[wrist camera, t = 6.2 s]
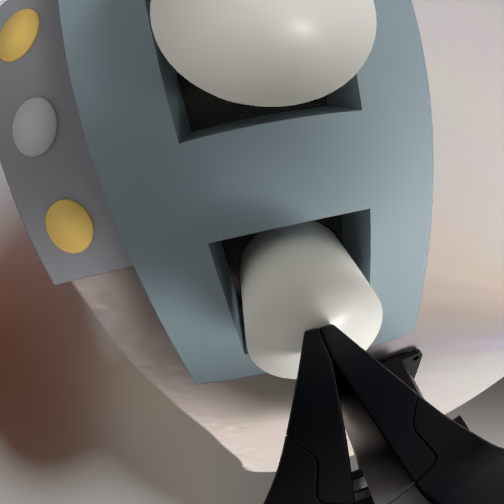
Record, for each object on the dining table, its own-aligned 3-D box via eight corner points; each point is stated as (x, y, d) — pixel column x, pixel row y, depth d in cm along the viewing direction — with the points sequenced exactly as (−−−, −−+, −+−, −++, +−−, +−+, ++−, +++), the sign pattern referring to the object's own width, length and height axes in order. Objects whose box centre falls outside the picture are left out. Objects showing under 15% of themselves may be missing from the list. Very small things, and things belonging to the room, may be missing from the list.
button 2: (344, 296, 12) (376, 359, 9) (251, 318, 12) (260, 389, 9) (340, 208, 10) (387, 261, 7) (227, 232, 10) (230, 298, 7)
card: (142, 259, 12) (139, 266, 12) (57, 280, 12) (53, 286, 12) (67, -35, 5) (61, -38, 5) (-16, 24, 5) (-23, 24, 5)
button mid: (330, 94, 8) (392, 96, 4) (196, 118, 8) (176, 130, 5) (303, -22, 6) (346, -73, 3) (168, -1, 6) (136, -51, 3)
